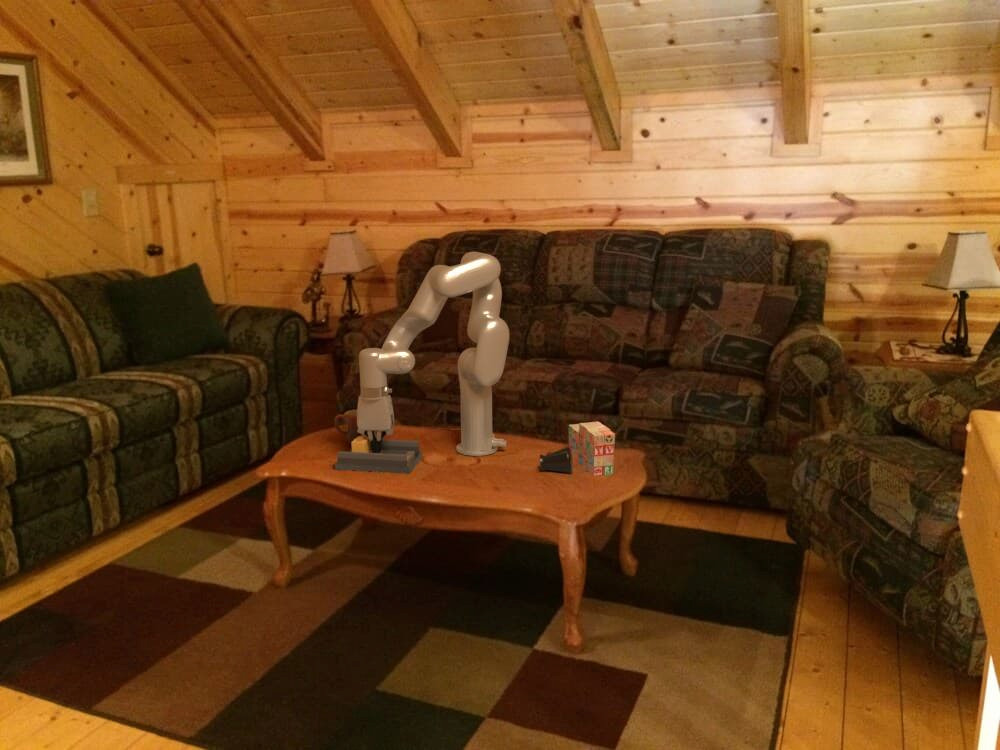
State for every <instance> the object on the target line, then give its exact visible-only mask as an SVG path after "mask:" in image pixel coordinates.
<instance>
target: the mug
mask: <svg viewBox="0 0 1000 750" xmlns="http://www.w3.org/2000/svg"><path fill="white" fill-rule="evenodd" d="M339 419H344V420H345V421H346V425H347V427H346V430H343V429H342V428H341V427H340V425H339ZM334 427H335V428H336V430H337V432H339V433H340V434H341V435H344V436H347V441H348V442H347V443H348V444H349V446H351V447H352V443H351V442H352V441H353V439H354V438H357V437H358V436H361V435H362V434H361V433H358V432H357V431H358V427H357V409H351V410H347V411H345V412H344V414H338V415H336V416H335V418H334ZM366 437H367V436H366Z"/></svg>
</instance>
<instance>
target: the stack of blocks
mask: <svg viewBox="0 0 1000 750" xmlns="http://www.w3.org/2000/svg"><path fill="white" fill-rule="evenodd" d="M567 427H568V433H567V434H568V447H569V448H570V450H571V455H572V459H574V460H575V461H576V462H577V463H578V464H579V465H580V466H581V467H582V468H583V469H585V471H586V472H588V473H589V474H590V475H591V476H592V477H594V478H595V477H603V476H605V477H606V476H612V475H613V476H614V472H615V465H614V464H615V463H614V461H615V448H616V446H615V445H616V443H615V441H616V433H615V432H614V431H612V430H611V429H610V428H609V427H607V426H606V425H604V424H602V423H601V422H600V421H591V422H579V423H575V424H568V425H567Z"/></svg>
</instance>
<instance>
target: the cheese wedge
mask: <svg viewBox="0 0 1000 750" xmlns="http://www.w3.org/2000/svg"><path fill="white" fill-rule="evenodd" d="M351 443H352V446H351V448H352V452H362V453H372V450H371V442H370V440H369V438H368V437H366V435H365V434H362V435H361V436H358V437H357V438H356V439H355V440H353V441H352V442H351Z"/></svg>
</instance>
